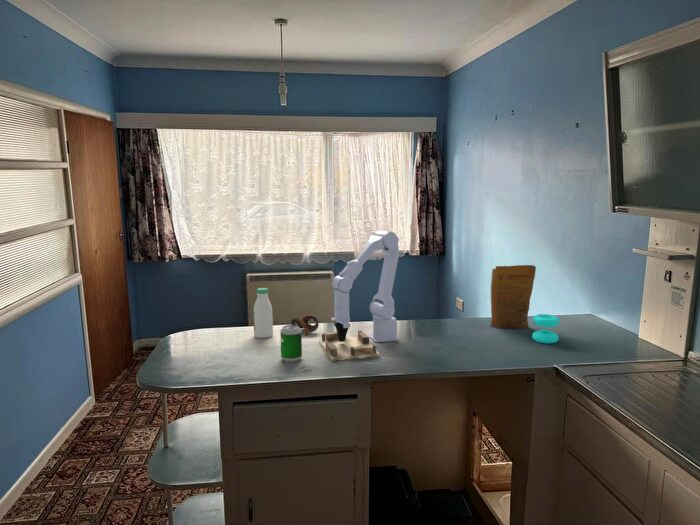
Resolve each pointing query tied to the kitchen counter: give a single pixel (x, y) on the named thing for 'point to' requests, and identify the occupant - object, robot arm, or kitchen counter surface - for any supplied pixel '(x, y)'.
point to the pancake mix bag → (511, 295)
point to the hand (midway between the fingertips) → (341, 341)
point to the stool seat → (349, 347)
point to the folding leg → (332, 336)
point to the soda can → (291, 343)
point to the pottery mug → (306, 323)
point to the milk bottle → (263, 315)
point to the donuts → (545, 335)
